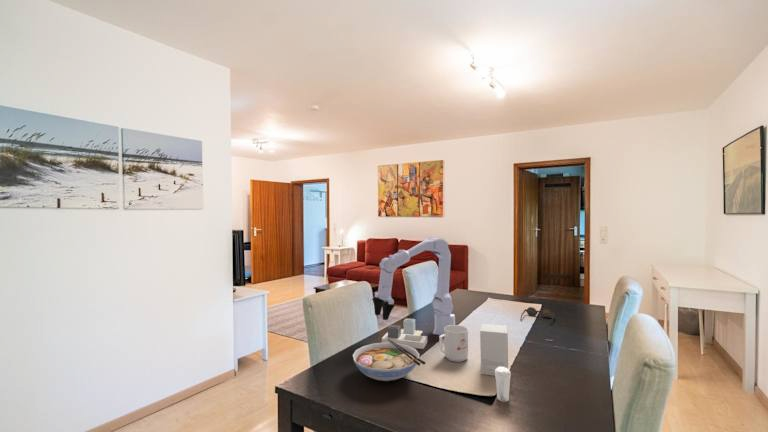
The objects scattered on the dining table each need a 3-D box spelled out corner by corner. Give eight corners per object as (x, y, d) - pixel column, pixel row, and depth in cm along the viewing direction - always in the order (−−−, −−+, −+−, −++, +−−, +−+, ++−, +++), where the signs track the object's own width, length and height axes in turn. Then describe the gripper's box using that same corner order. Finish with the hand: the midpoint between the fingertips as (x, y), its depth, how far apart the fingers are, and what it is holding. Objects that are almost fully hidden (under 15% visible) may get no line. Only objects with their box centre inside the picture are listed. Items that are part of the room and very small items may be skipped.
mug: (457, 351, 138) (457, 323, 137) (473, 359, 130) (472, 330, 130) (433, 357, 132) (432, 328, 132) (447, 366, 124) (447, 335, 124)
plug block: (415, 332, 159) (415, 318, 159) (413, 335, 155) (413, 321, 155) (405, 331, 160) (405, 317, 160) (403, 334, 156) (403, 320, 156)
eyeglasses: (554, 319, 180) (554, 309, 180) (551, 327, 168) (551, 316, 168) (524, 315, 188) (524, 305, 188) (519, 322, 175) (519, 312, 175)
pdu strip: (427, 342, 148) (427, 326, 148) (423, 349, 140) (423, 332, 140) (387, 337, 153) (387, 322, 153) (381, 344, 146) (381, 328, 146)
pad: (422, 332, 161) (422, 330, 161) (417, 339, 151) (417, 338, 151) (401, 329, 164) (401, 328, 164) (396, 337, 154) (396, 336, 154)
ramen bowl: (343, 367, 124) (342, 344, 124) (400, 356, 133) (400, 335, 133) (367, 401, 101) (367, 374, 101) (434, 386, 110) (434, 360, 110)
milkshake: (489, 395, 104) (489, 362, 104) (506, 394, 104) (506, 361, 104) (495, 403, 99) (495, 369, 99) (513, 402, 100) (513, 368, 100)
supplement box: (508, 367, 123) (507, 325, 123) (508, 378, 115) (508, 333, 115) (481, 363, 126) (481, 322, 126) (480, 374, 118) (479, 330, 118)
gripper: (370, 282, 154) (366, 312, 154) (384, 288, 141) (380, 321, 141) (384, 283, 157) (380, 312, 157) (399, 289, 145) (395, 321, 144)
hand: (381, 317), depth 149 cm, fingers open, 7 cm apart
